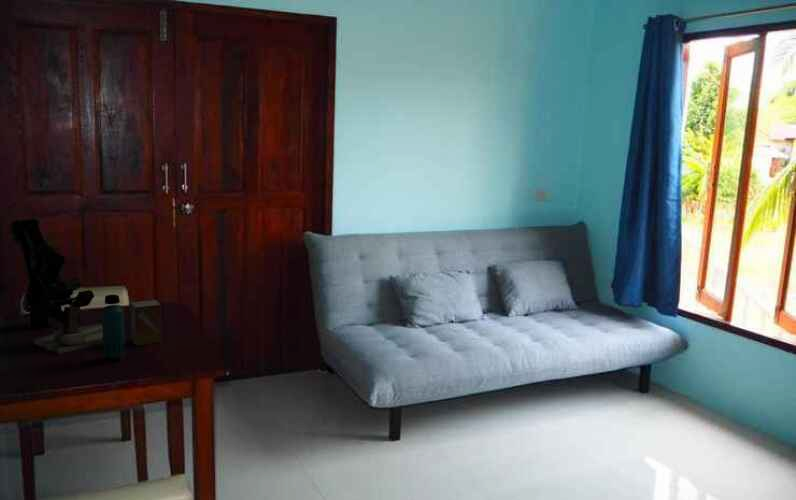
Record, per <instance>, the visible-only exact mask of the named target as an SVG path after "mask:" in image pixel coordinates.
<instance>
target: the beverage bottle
mask: <svg viewBox="0 0 796 500" xmlns="http://www.w3.org/2000/svg"><path fill="white" fill-rule="evenodd" d="M120 301H121V299H120V295H117V294H108V295H105V296H104V304H105V305H106V304H107V305H106V306H104V307H103V308H102V309H101V311H100V312H101V323H102V324H101V325H102V329H103V337H102V338H103V341H102V342H103V343H101V344H102V352H103V357H104V358H106V359H118V358H122V357H125V355H126V352H127V351H126V350H127V349H126V342H127V341H126V333H125V330H126V329H125V312H124V308H123V307H122V306H120V305H119V303H120ZM117 304H118V305H117Z"/></svg>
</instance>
